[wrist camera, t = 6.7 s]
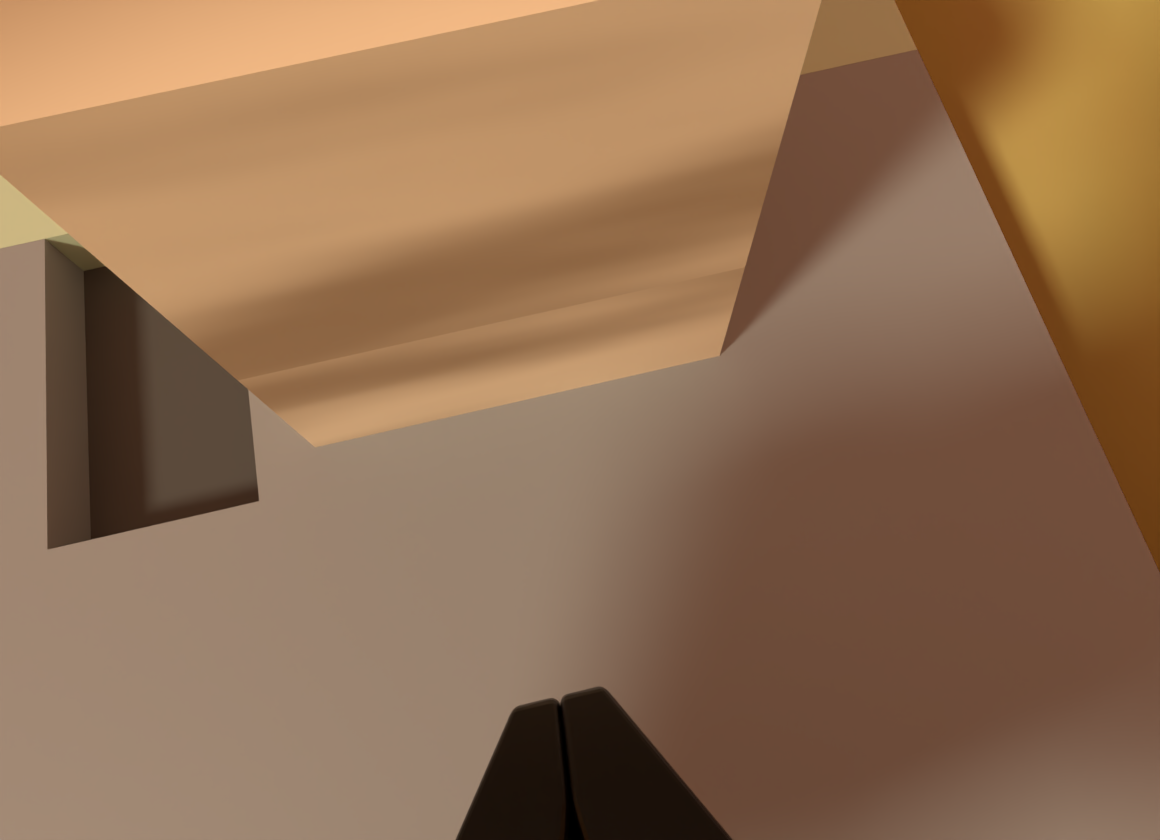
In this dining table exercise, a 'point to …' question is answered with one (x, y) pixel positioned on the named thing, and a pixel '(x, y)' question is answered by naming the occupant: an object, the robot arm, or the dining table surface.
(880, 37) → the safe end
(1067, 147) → the dining table surface
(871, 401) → the board
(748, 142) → the birch block
